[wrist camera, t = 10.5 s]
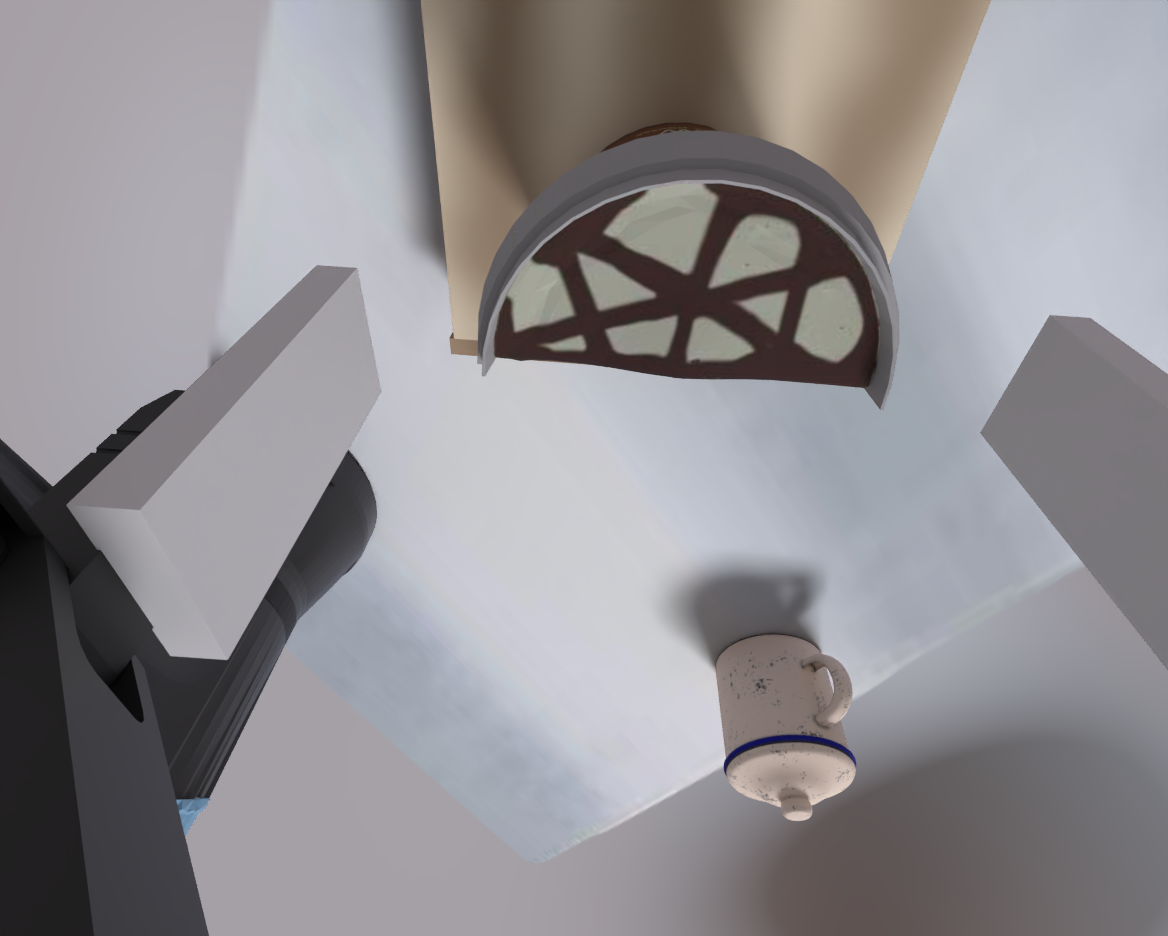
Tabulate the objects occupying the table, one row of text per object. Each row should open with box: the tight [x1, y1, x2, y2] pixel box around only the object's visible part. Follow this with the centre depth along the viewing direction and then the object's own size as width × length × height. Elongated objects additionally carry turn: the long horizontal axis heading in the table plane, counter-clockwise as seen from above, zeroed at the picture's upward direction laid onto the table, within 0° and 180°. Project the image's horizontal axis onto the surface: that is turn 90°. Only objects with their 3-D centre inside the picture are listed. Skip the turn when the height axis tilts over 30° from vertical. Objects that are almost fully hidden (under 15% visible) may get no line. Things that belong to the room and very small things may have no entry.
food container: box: [477, 122, 899, 410], centre depth 19 cm, size 12×6×10 cm, turn 87°
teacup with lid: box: [716, 634, 856, 821], centre depth 44 cm, size 12×9×12 cm
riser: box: [421, 0, 991, 365], centre depth 24 cm, size 18×17×4 cm
